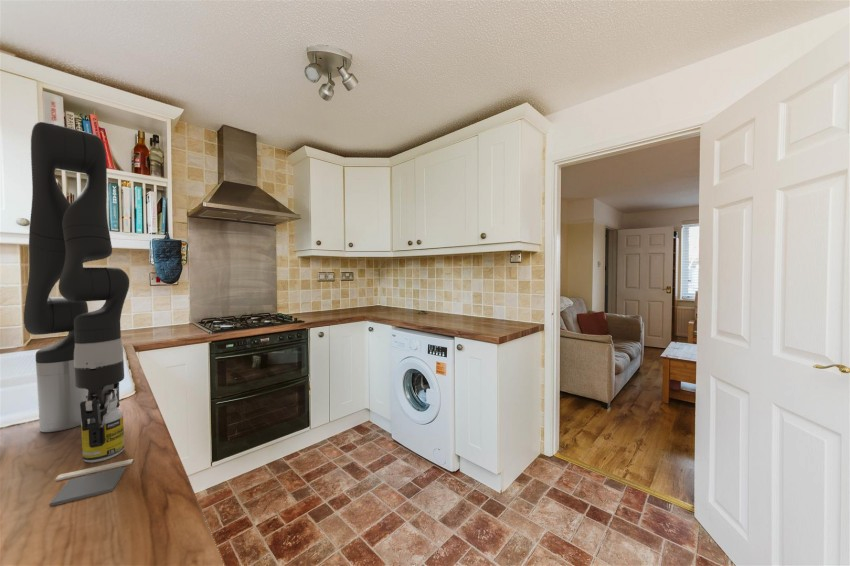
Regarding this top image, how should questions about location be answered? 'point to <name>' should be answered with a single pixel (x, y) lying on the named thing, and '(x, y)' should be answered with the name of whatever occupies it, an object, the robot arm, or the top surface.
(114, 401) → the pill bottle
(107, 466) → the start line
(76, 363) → the robot arm
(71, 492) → the mat
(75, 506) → the top surface
